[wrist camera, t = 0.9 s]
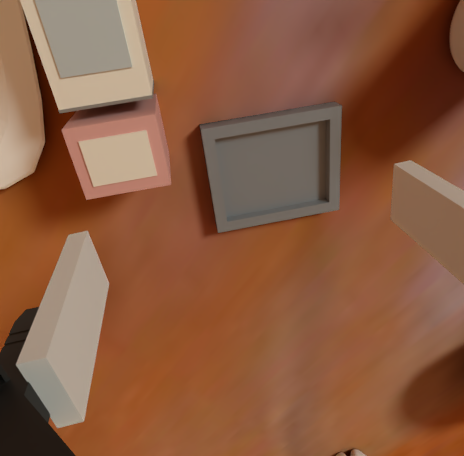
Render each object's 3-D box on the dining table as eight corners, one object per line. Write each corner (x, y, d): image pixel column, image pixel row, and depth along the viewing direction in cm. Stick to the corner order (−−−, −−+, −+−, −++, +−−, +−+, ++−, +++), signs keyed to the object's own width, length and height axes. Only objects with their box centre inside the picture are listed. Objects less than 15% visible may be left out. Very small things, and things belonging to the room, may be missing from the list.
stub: (80, 105, 30) (60, 130, 24) (156, 93, 31) (155, 114, 25) (99, 164, 33) (86, 200, 27) (169, 152, 33) (171, 185, 27)
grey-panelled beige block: (17, -88, 24) (-22, -115, 19) (114, -100, 24) (102, -129, 19) (76, 95, 30) (59, 113, 24) (154, 82, 30) (152, 98, 25)
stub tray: (199, 124, 32) (200, 129, 31) (334, 101, 33) (341, 105, 32) (216, 225, 37) (218, 232, 36) (333, 202, 38) (339, 209, 37)
